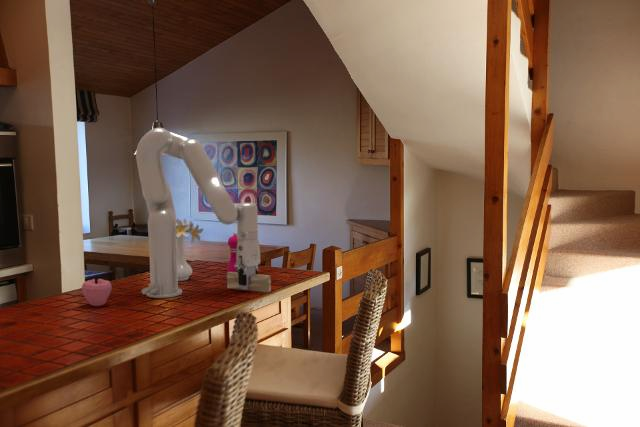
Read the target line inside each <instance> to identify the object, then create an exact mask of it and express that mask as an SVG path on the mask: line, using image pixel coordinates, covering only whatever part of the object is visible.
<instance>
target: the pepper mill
mask: <svg viewBox="0 0 640 427" xmlns="http://www.w3.org/2000/svg"><path fill="white" fill-rule="evenodd" d="M237 242H238V238H237V232H236V231H233V233H232V236H230V237H229V238H228V239H227V245H228V247H229V249H228V252H230V259H229V262H228V264H227V268H226V273H227V272H237V271H236V268H235V264H236V262H237V260H236V255H237Z"/></svg>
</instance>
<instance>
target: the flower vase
mask: <svg viewBox="0 0 640 427" xmlns="http://www.w3.org/2000/svg"><path fill="white" fill-rule="evenodd" d="M194 225H195V224H194V222H192V220H191V219H189V222H188V220H187V219H186V218H183V221H182V220H180V219H179V218H176V250H177V280H178V282H182V281H183V282H184V281H188V280H189V277H190V276H191V275H192V274H193V268H192V266H191V265H190V264H189V263H188V262H187V260H186V256H185V248H184V240H185V237H186V238H187V237H189V234H190V236H191V241H190V242H191V243H192V244H193V243H194V242H195V240H197V241H199V242H200V241H201V236H200V235H199V234H201V233H203V231H204V228H199V224H196V226H194Z"/></svg>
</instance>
